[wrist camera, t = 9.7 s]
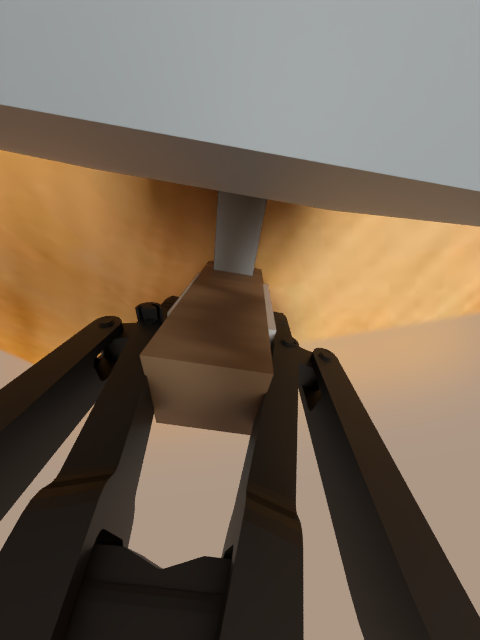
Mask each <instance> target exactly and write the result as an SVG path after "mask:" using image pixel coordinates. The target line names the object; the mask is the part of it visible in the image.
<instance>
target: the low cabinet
mask: <svg viewBox="0 0 480 640" xmlns="http://www.w3.org/2000/svg"><path fill="white" fill-rule="evenodd" d="M0 150H4V151H9V152H14V153H19V154H24V155H29V156H33V157H38V158H43V159H48V160H53V161H58V162H63V163H67V164H72V165H77V166H82V167H87V168H92V169H97V170H102V171H108V172H114V173H120V174H125V175H131V176H137V177H143V178H148V179H154V180H160V181H165V182H171V183H177V184H183V185H188V186H194V187H200V188H206V189H211V190H217V191H223V192H229V193H234V194H240V195H246V196H251V197H257V198H263V199H269V200H274V201H280V202H286V203H292V204H297V205H303V206H309V207H315V208H320V209H326V210H334V211H343V212H352V213H361V214H370V215H380V216H389V217H398V218H407V219H416V220H425V221H434V222H443V223H453V224H462V225H471V226H480V0H0Z"/></svg>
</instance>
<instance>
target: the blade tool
mask: <svg viewBox="0 0 480 640" xmlns="http://www.w3.org/2000/svg"><path fill="white" fill-rule="evenodd" d="M266 201H267V199H263V198H257V197H251V196H246V195H240V194H234V193H229V192H223V191H218V204H217V221H216V239H215V256H214V262H210V261H209V262H208V263H207V265H206V266H205V267H204V269H203V270H202V271H201V273H200V274H199V275H198V277H197V278H196V279H195V281H194V282H193V283H192V285H191V286H190V287H189V289H188V290H187V292H186V293H185V294H184V296H183V297H182V298H181V300H180V301H179V302H178V304H177V305H176V306H175V308H174V309H173V310H172V312H171V313H170V315H169V316H168V317H167V319H166V320H165V321H164V323H163V324H162V325H161V327H160V328H159V329H158V331H157V332H156V333H155V335H154V336H153V338H152V339H151V340H150V342H149V343H148V344H147V346H146V347H145V348H144V350H143V351H142V352H141V354H140V359H141V363H142V367H143V371H144V375H147V379H148V384H149V388H150V393H151V397H152V401H153V406H154V410H155V411H154V414H155V418H156V422H157V423H164V424H172V425H179V426H186V427H194V428H202V429H208V430H216V431H223V432H231V433H239V434H246V435H251V432H252V427H253V423H254V421H255V418H256V416H257V413H258V410H259V408H260V405H261V403H262V400H263V398H264V395H265V393H267V391H268V388H269V385H270V383H271V380H272V377H273V375H274V373H273V365H272V356H271V348H270V339H269V331H268V322H267V314H266V305H265V297H264V288H263V280H262V271H261V270H260V269H254V265H255V260H256V255H257V249H258V244H259V239H260V233H261V228H262V223H263V217H264V212H265V206H266Z"/></svg>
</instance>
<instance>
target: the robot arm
mask: <svg viewBox="0 0 480 640" xmlns="http://www.w3.org/2000/svg"><path fill="white" fill-rule="evenodd" d="M199 274H200V273H198V274H197V275H196V276H195V278H194V279H193V280H192V282H191V283H190V284H189V285H188V287H187V288H186V289H185V291H184V292H183V293H182V295H181V296H180V297H177V296H171V297H169V298H167V299H166V300H165V301H164V302H163V303H162V304H161V305H160V304H158V303H154V302H146V303H142V304H140V305H138V306H137V307H136V308H135V309H136V314H137V319H138V322H137V323H124V324H122V321H121V319H120V318H119V317H116V316H105V317H101V318H98V319H96V320H95V321H93V322H92V323H90V324H89V325H88V326H86V327H85V328H84V329H82V330H81V331H79V332H78V333H77V334H75V335H74V336H73V337H71V338H70V339H69V340H67V341H66V342H64V343H63V344H62V345H60V346H59V347H58V348H56V349H55V350H54V351H52V352H51V353H49V354H48V355H47V356H45V357H44V358H43V359H41V360H40V361H39V362H37V363H36V364H34V365H33V366H32V367H30V368H29V369H28V370H27V371H25V372H24V373H22V374H21V375H20V376H18V377H17V378H16V379H14V380H13V381H11V382H10V383H9V384H7V385H6V386H5V387H3V388H2V389H0V521H1V520H2V518H3V517H4V516H5V515H6V513H7V512H8V511H9V510H10V508H11V507H12V506H13V505H14V503H15V502H16V501H17V500H18V498H19V497H20V496H21V495H22V493H23V492H24V491H25V490H26V488H27V487H28V486H29V485H30V483H31V482H32V481H33V480H34V478H35V477H36V476H37V475H38V473H39V472H40V471H41V469H42V468H43V467H44V466H45V465H46V463H47V462H48V461H49V460H50V458H51V457H52V456H53V455H54V453H55V452H56V451H57V450H58V448H59V447H60V446H61V445H62V443H63V442H64V441H65V439H66V438H67V437H68V436H69V435H70V433H71V432H72V431H73V430H74V428H75V427H76V426H77V425H78V423H79V422H80V421H81V419H82V418H83V417H84V416H85V415H86V413H87V412H88V411H89V410H90V408H91V407H92V406H93V405H94V403H95V402H96V403H95V405H94V407H93V409H92V411H91V412H90V414H89V417H88V418H87V420H86V422H85V424H84V426H83V428H82V430H81V432H80V434H79V436H78V438H77V440H76V442H75V443H74V445H73V447H72V449H71V451H70V453H69V455H68V457H67V459H66V461H65V463H64V465H63V467H62V469H61V471H60V473H59V474H58V475H57V477H56V478H55V479H54V481H53V482H52V483H50V484H49V485H47V486H46V487H44V488H42V489H41V490H40V491H39V492H38V493H37V494H36V495H35V496H34V497H33V498H32V499H31V500H30V502H29V504H28V505H27V507H26V508H25V510H24V511H23V513H22V514H21V516H20V518H19V520H18V521H17V523H16V525H15V526H14V528H13V530H12V532H11V533H10V535H9V537H8V539H7V541H6V542H5V544H4V546H3V548H2V549H1V551H0V640H303V536H302V528H301V523H300V520H299V518H298V515H297V512H296V463H297V417H298V389H299V392H300V396H301V400H302V404H303V408H304V412H305V416H306V420H307V424H308V428H309V432H310V435H311V439H312V444H313V448H314V452H315V456H316V460H317V464H318V468H319V472H320V476H321V479H322V483H323V487H324V491H325V495H326V499H327V503H328V507H329V511H330V515H331V519H332V523H333V527H334V531H335V535H336V539H337V543H338V546H339V551H340V555H341V558H342V562H343V566H344V570H345V574H346V578H347V582H348V586H349V590H350V594H351V597H352V601H353V604H354V608H355V611H356V614H357V618H358V622H359V625H360V628H361V631H362V634H363V637H364V640H480V617H479V615H478V614H477V612H476V610H475V608H474V606H473V604H472V603H471V601H470V599H469V597H468V595H467V593H466V592H465V590H464V588H463V586H462V585H461V583H460V581H459V579H458V577H457V575H456V573H455V572H454V570H453V568H452V566H451V564H450V563H449V561H448V559H447V557H446V555H445V553H444V552H443V550H442V548H441V546H440V544H439V542H438V541H437V539H436V537H435V535H434V533H433V532H432V530H431V528H430V526H429V524H428V522H427V521H426V519H425V517H424V515H423V514H422V512H421V510H420V508H419V506H418V504H417V502H416V501H415V499H414V497H413V495H412V493H411V492H410V490H409V488H408V486H407V484H406V482H405V481H404V479H403V477H402V475H401V473H400V471H399V470H398V468H397V466H396V464H395V462H394V461H393V459H392V457H391V455H390V453H389V451H388V450H387V448H386V446H385V444H384V443H383V441H382V439H381V437H380V435H379V433H378V431H377V430H376V428H375V426H374V424H373V423H372V421H371V419H370V417H369V415H368V413H367V411H366V410H365V408H364V406H363V404H362V402H361V401H360V399H359V397H358V395H357V393H356V391H355V390H354V388H353V386H352V384H351V382H350V380H349V379H348V377H347V375H346V373H345V372H344V370H343V368H342V366H341V364H340V362H339V360H338V359H337V357H336V356H335V355H334V354H333V353H332V352H330V351H329V350H327V349H323V348H316V349H314V351H313V352H310V351H307V350H305V349H303V348H301V347H299V344H298V342H297V341H296V340H295V339H294V338H293V337H292V335H291V332H290V328H289V325H288V323H287V322H288V321H287V318H286V316H285V315H284V314H283V313H278V312H273V308H272V303H271V297H270V292H269V286H268V284H263V288H264V297H265V305H266V314H267V322H268V331H269V339H270V348H271V356H272V365H273V373H274V375H273V377H272V380H271V383H270V385H269V388H268V391H267V393H265V395H264V398H263V400H262V403H261V405H260V408H259V410H258V413H257V416H256V418H255V421H254V423H253V427H252V432H251V436H250V440H249V445H248V449H247V454H246V458H245V462H244V467H243V471H242V475H241V480H240V484H239V488H238V493H237V497H236V502H235V506H234V510H233V514H232V517H231V521H230V524H229V528H228V532H227V536H226V540H225V544H224V549H223V553H222V557H221V558H216V557H207V556H203V557H200V558H197V559H194V560H190V561H188V562H184V563H181V564H178V565H175V566H171V567H168V568H165V569H162V568H160V567H159V566H158V565H156V564H154V563H153V562H151V561H150V560H148V559H147V558H145V557H144V556H142V555H140V554H138V553H136V552H134V551H132V550H130V549H128V544H129V539H130V535H131V530H132V525H133V519H134V511H135V495H136V490H137V486H138V482H139V477H140V473H141V468H142V464H143V459H144V455H145V451H146V446H147V442H148V437H149V433H150V429H151V424H152V419H153V415H154V411H155V410H154V406H153V401H152V397H151V393H150V388H149V384H148V379H147V375H144V371H143V367H142V363H141V359H140V354H141V352H142V351H143V350H144V348H145V347H146V346H147V344H148V343H149V342H150V340H151V339H152V338H153V336H154V335H155V333H156V332H157V331H158V329H159V328H160V327H161V325H162V324H163V323H164V321H165V320H166V319H167V317H168V316H169V315H170V313H171V312H172V310H173V309H174V308H175V306H176V305H177V304H178V302H179V301H180V300H181V298H182V297H183V296H184V294H185V293H186V292H187V290H188V289H189V287H190V286H191V285H192V283H193V282H194V281H195V279H196V278H197V277H198V275H199ZM100 353H102V354H101V355H100V356H99V357H98V358H97V356H98V355H99V354H100Z"/></svg>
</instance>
